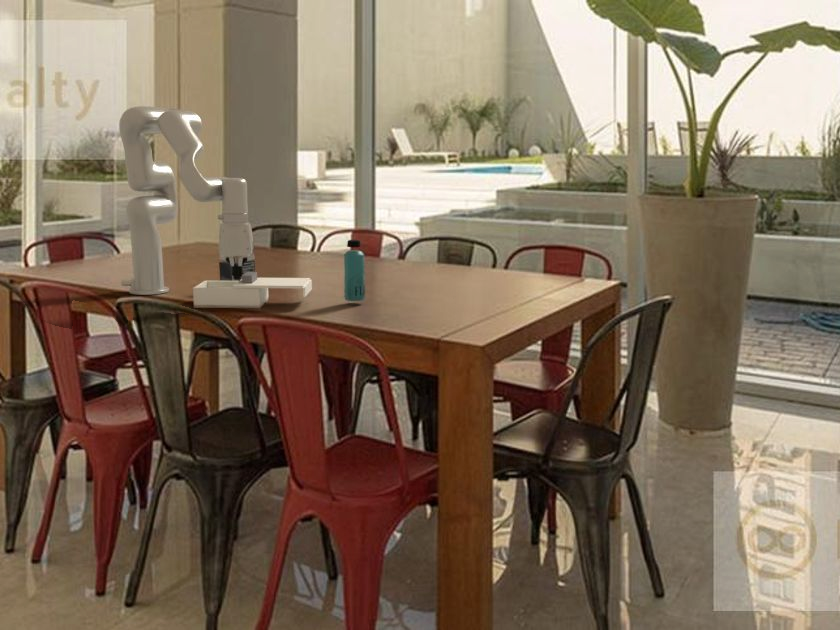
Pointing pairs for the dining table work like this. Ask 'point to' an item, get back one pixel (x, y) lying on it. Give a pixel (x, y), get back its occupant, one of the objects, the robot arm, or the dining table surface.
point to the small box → (227, 270)
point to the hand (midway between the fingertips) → (237, 278)
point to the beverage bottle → (354, 273)
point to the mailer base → (228, 295)
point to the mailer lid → (273, 282)
